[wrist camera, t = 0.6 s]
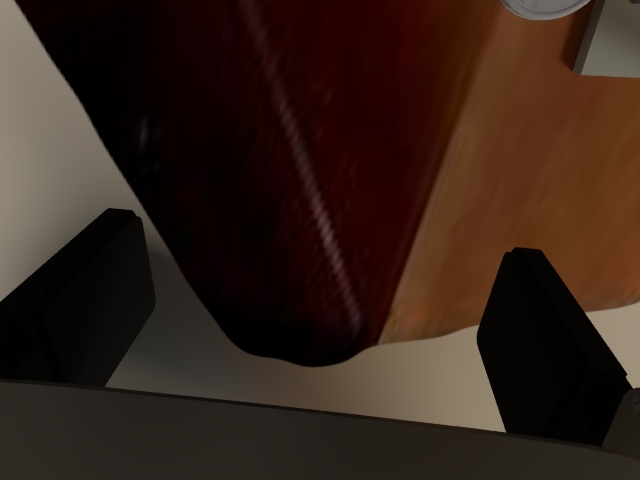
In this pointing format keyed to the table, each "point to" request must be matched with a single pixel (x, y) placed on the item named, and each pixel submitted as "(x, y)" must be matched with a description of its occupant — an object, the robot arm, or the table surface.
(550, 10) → the smoothie
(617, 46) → the holder
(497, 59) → the table surface
